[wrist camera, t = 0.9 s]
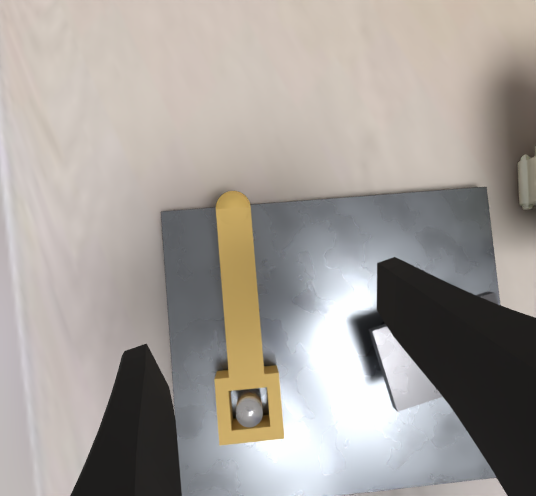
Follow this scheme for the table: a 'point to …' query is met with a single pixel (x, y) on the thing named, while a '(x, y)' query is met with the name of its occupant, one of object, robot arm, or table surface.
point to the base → (320, 344)
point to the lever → (242, 327)
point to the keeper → (405, 368)
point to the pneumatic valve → (527, 181)
